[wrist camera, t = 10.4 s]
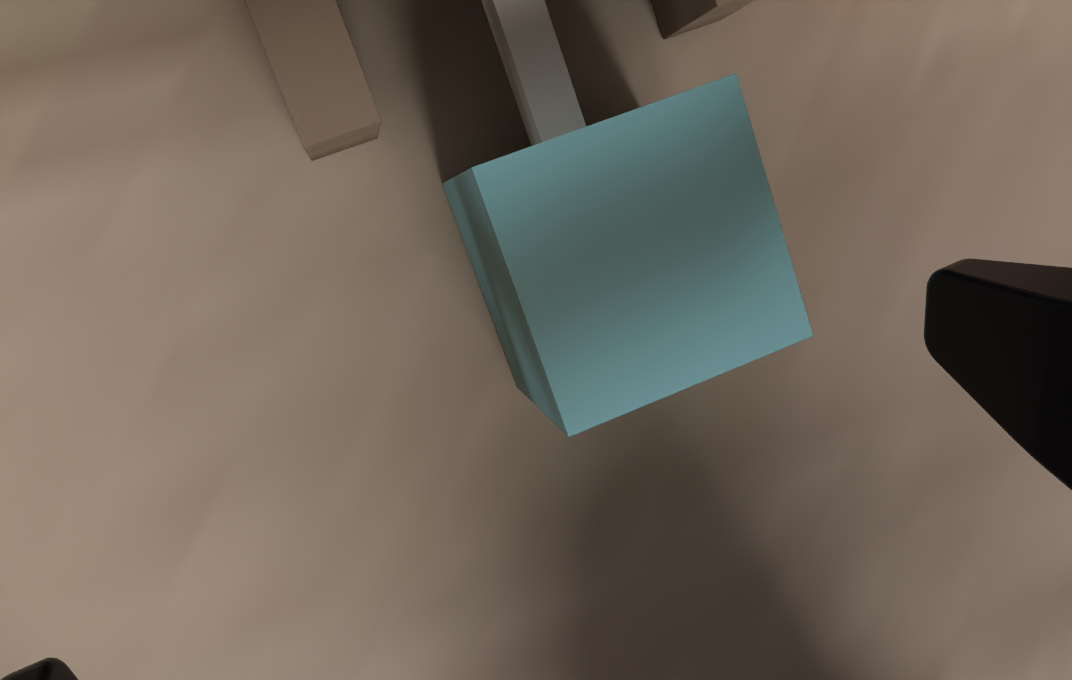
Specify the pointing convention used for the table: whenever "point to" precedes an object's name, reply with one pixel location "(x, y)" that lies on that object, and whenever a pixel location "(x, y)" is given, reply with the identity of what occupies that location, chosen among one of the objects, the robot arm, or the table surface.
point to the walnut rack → (336, 75)
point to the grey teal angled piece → (622, 239)
